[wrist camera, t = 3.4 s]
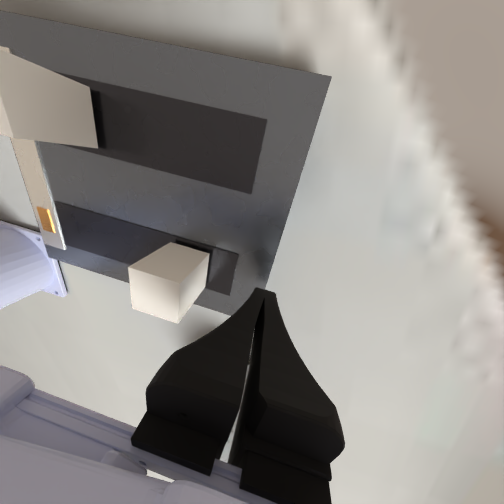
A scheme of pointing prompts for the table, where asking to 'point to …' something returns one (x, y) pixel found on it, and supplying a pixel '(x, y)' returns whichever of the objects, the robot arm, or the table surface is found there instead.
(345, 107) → the table surface
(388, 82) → the table surface
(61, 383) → the table surface
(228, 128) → the switch panel
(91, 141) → the switch tab
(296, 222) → the table surface
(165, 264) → the switch tab
